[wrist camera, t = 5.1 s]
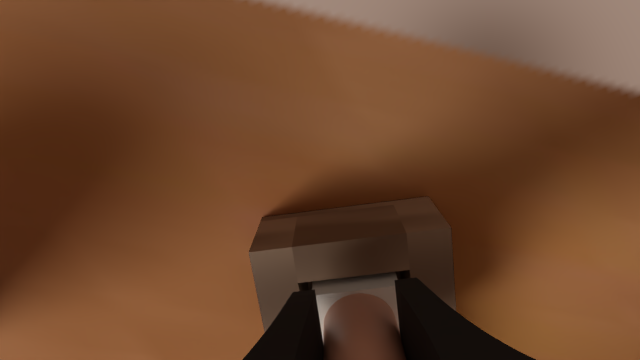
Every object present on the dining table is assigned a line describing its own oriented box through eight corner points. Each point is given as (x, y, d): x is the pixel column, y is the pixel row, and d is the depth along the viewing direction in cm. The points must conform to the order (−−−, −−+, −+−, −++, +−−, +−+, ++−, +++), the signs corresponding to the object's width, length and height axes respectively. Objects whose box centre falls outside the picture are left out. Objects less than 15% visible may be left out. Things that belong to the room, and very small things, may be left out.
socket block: (436, 306, 17) (458, 357, 14) (282, 324, 17) (273, 377, 14) (428, 196, 15) (451, 227, 13) (262, 217, 16) (248, 252, 13)
